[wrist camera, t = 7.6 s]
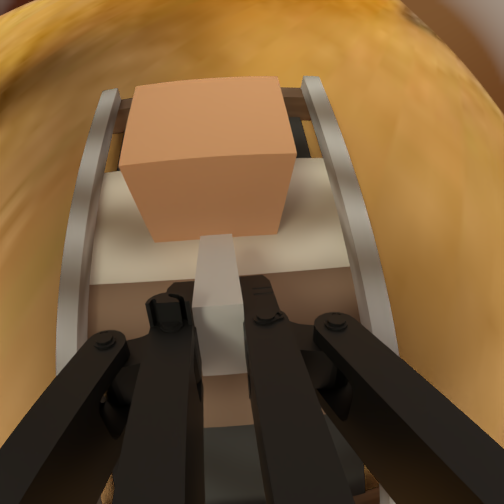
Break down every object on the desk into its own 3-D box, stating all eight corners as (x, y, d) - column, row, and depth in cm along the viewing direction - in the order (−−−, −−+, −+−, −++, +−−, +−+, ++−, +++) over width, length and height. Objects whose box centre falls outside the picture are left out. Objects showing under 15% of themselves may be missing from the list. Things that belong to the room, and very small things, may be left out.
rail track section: (114, 123, 29) (102, 90, 25) (310, 110, 31) (318, 76, 27) (105, 523, 15) (81, 545, 11) (383, 502, 17) (411, 519, 12)
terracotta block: (158, 169, 23) (135, 86, 16) (266, 162, 24) (277, 76, 16) (154, 242, 21) (118, 166, 13) (277, 234, 21) (297, 153, 14)
